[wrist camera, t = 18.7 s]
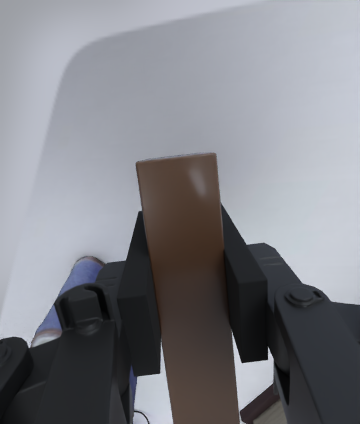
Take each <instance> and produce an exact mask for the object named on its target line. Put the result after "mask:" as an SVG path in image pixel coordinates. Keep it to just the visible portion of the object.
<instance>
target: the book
mask: <svg viewBox="0 0 360 424" xmlns="http://www.w3.org/2000/svg"><path fill="white" fill-rule="evenodd" d="M240 415H241V419H242V421H243V422H245V423H246V424H287V420H286V417H285V413H284V409H283V406H282V402H281V398H280V395H279V391H278V395H274V384H272V385H271V386H270V387H269V388H268V389H267V390H265V391H264V392H263V393H262V394H261V395H259V396H258V397H257V398H256V399H255V400H254V401H252V402H251V403H250V404H249V405H248V406H246V407H245V408H244V409H243V410H242V411H241V412H240Z"/></svg>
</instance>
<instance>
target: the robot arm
mask: <svg viewBox="0 0 360 424" xmlns="http://www.w3.org/2000/svg"><path fill="white" fill-rule="evenodd" d="M221 214H222V226H223V237H224V256H225V268H226V279H227V290H228V302H229V313H230V325H231V329H232V332H233V336H234V339H235V342H236V345H237V349H238V352H239V355H240V359H241V362H242V363H247V362H254V361H262V360H268V347H269V349H270V352H271V354H272V356H273V358H274V395H278V391H279V395H280V398H281V402H282V406H283V409H284V413H285V417H286V420H287V424H360V305H355V304H344V303H337V302H331V301H330V299H329V298H328V297H327V296H326V295H325V294H324V293H323V292H322V291H321V290H319V289H317V288H315V287H313V286H309V285H306V284H303V283H302V282H301V281H300V280H299V278H298V277H297V276H296V275H295V273H294V272H293V271H292V270H291V268H290V267H289V266H288V265H287V264H286V262H285V261H284V260H283V258H282V257H281V256H280V254H279V253H278V252H277V251H276V249H275V248H273V247H271V246H269V245H267V244H266V243H258V244H250V245H246V243H245V241H244V240H243V238H242V237H241V235H240V233H239V232H238V230H237V228H236V227H235V225H234V223H233V222H232V220H231V218H230V217H229V215H228V214H227V212H226V210H225V209H224V207H223V205H222V204H221ZM54 307H55V310H56V313H57V316H58V319H59V322H60V325H61V329H62V333H61V336H60V337H58V338H56V339H53V340H51V341H49V342H46V343H43V344H40V345H37V346H35V347H32V348H29V347H28V345H27V342H26V341H25V340H23V339H22V338H18V337H10V338H4V339H1V340H0V424H133V404H132V389H131V385H130V381H129V378H130V371H131V365H132V370H133V374H134V377H136V376H144V375H152V374H160V360H161V332H160V325H159V318H158V312H157V305H156V298H155V291H154V284H153V277H152V270H151V264H150V258H149V253H148V246H147V239H146V232H145V225H144V219H143V212H142V211H139V212H138V216H137V220H136V224H135V228H134V232H133V236H132V240H131V243H130V247H129V251H128V255H127V259H126V261H119V262H111V263H107V264H106V265H105V266H104V267H103V268H102V269H101V270H99V272H98V275H97V277H96V281H95V282H94V283H85V284H81V285H78V286H75V287H73V288H71V289H69V290H67V291H65V292H64V293H63V294H61V295H60V296H59V297H58V298H57V299H56V301H55V302H54Z"/></svg>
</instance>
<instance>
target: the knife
mask: <svg viewBox="0 0 360 424" xmlns="http://www.w3.org/2000/svg"><path fill="white" fill-rule="evenodd" d="M136 171H137V178H138V184H139V191H140V198H141V205H142V212H143V219H144V225H145V232H146V239H147V246H148V253H149V258H150V264H151V270H152V277H153V284H154V291H155V298H156V305H157V312H158V318H159V325H160V332H161V342H162V349H163V355H164V362H165V369H166V376H167V383H168V390H169V397H170V403H171V410H172V417H173V424H240V421H239V410H238V398H237V387H236V375H235V364H234V352H233V341H232V329H231V325H230V313H229V302H228V290H227V279H226V268H225V256H224V237H223V226H222V214H221V202H220V191H219V179H218V168H217V156H216V153H194V154H186V155H178V156H169V157H161V158H152V159H146V160H142V161H138V162H136Z"/></svg>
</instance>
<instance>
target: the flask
mask: <svg viewBox="0 0 360 424" xmlns="http://www.w3.org/2000/svg"><path fill="white" fill-rule="evenodd" d="M84 258H85V259H83V258H82V259H80V260H78V261H77V262H76V263H75V265H74V267H73V269H72V271H71V273H70V275H69V277H68V279H67V281H66V282H65V284H64V285H63V287H62V289H61V291H60V293H59V295H58V297H59V296H60V295H61V294H63V293H64V292H65V291H67V290H69V289H71V288H73V287H75V286H78V285H81V284H85V283H94V282H95V281H96V277H97V275H98V272H99V270H101V269H102V268H103V267H104V266H105V264H104V263H103V262H101V261H99V260H98V259H97V258H94V257H93V256H92V257H84ZM58 297H57V298H58ZM61 333H62V329H61V325H60V322H59V319H58V316H57V313H56V310H55V307H54V304H53V306H52V308H51V309H50V311H49V313H48V314H47V316H46V318H45V319H44V321H43V322H42V324H41V325H40V326H39V328H38V329H37V331H36V332H35V336H34V338H33V340H32V342H31V347H30V348H32V347H35V346H37V345H40V344H43V343H46V342H49V341H51V340H53V339H56V338H58V337H60V336H61ZM129 381H130V385H131V389H132V404H133V416H134V400H135V392H136V384H137V376H136V377H134V374H133V370H132V365H131V371H130V378H129Z"/></svg>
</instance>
